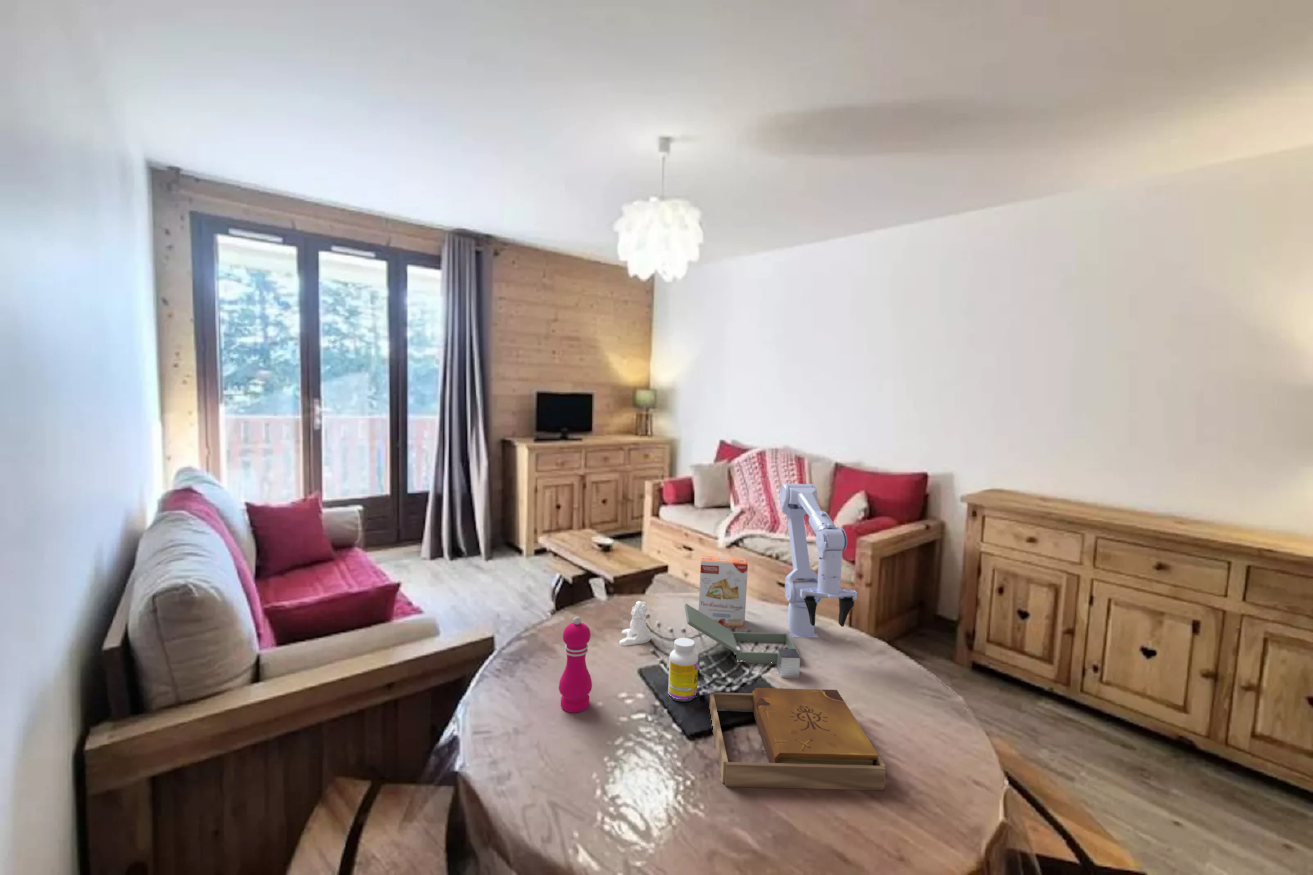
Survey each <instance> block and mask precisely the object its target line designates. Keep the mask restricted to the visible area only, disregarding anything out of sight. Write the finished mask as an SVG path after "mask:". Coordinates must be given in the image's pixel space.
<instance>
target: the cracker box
mask: <svg viewBox="0 0 1313 875" xmlns="http://www.w3.org/2000/svg"><path fill="white" fill-rule="evenodd" d="M700 557H701V558H700V573H699V591H698V592H699V593H698V594H699V595H698V611H699V612H701V613H703V614H704V615H706V616H708V617H709V618H711V619H713V620H714V621H716V622H718V623H719V624H721V625H723V626H724V627H729V628H730V627H732V628H733V627H734V628H745V624H746V623H745V622H746V608H747V607H746V605H747V604H746V603H747V589H748V587H747V585H748V571H749V570H748V568H749V567H748V566H749V565H748V564H749V563H748V559H747V558H737V557H725V556H722V557H721V556H709V555H701V556H700Z"/></svg>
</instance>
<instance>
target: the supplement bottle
mask: <svg viewBox="0 0 1313 875" xmlns="http://www.w3.org/2000/svg"><path fill="white" fill-rule="evenodd" d="M695 644H696V643H695V641H694V640H693V639H691V638H689V637H688V638H687V637H679V638H676V639H675V640H674V642H673V647H674V649H672V651H670V654H669V658H668V659H669V663H668V688H667V694H669V695H670V696H672V697H673V698H676V699H688V698H691V697H693V696H694V695H696V693H697V694H698V679H699V678H698V677H699V656H698V653H697V652H696V651H694V650H695ZM669 695H668V696H669Z"/></svg>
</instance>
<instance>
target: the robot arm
mask: <svg viewBox="0 0 1313 875" xmlns="http://www.w3.org/2000/svg"><path fill="white" fill-rule="evenodd" d="M817 499H818V490H817V488H816V486H815V485H814V483H808V484H807V483H806V484H805V483H783V484H782V485H781V486H780V491H779V501H780V502H779V504H780V509H781V513H783V514H784V515H785V516H786V521H787V529H788V537H789V538H788V539H789V546H790V553H791V555H790V556H791V562H792V570H791V571H790V573H788V574H787V575H786V576H785V578H784V595H785V599H786V601H787V603H788V606H787V626H788V631H789V636H790V638H791V637H792V638H817V639H818V638H819V635H818V634H817V633H815V628H816V627H815V625H816V611H817V607H819V603H821V602H822V600H823V599H838V605H839V607H838V610H839V611H838V624H839V626H840V627H843V628H844V627H845V623H846V621H847V620H846V619H847V617H848V615H849V613H850V611H851V610H852V608H853V607H854V606H855V605H854V604H855V601H856V600H857V599H858V592H857V591H856V589H844V588H841V581H842V580H841V578H842V562H843V552H844V551H846V549H847V546H848V537H847V533H846V531H845V529H844V528H840V526H836V524H835V522H833V519H832V518H831V517H830V515H829V514H828V512H826V511H824V510H822V509H821V507H820V505H819V502H818V501H817ZM806 515H808V524H809V526H810V528H811V529H812V531H813V533H814V534H815V536H816V537H815V542H816V547H817V549H816V550H817V552H816V553H817V556H818V571H817V573H816V572H815V571H814V570H812V569H811V564H810V557H809V556H810V555H809V551H808V543H807V534H806V526H805V519H804V518H805V516H806ZM854 600H855V601H854Z"/></svg>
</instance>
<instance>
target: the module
mask: <svg viewBox="0 0 1313 875" xmlns="http://www.w3.org/2000/svg"><path fill="white" fill-rule="evenodd" d="M796 649H797V648H796ZM796 649H788V648H777V653H778V654H777V664H776V669H777V672H778V674H779V677H780V678H781V679H782V678H784V679H785V678H786V679H800V668H801V667H800V665H801V664H800V663H801V656H800V653H799V652H798V653H799V654H798V653H797V651H798V650H797V651H796Z"/></svg>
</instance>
